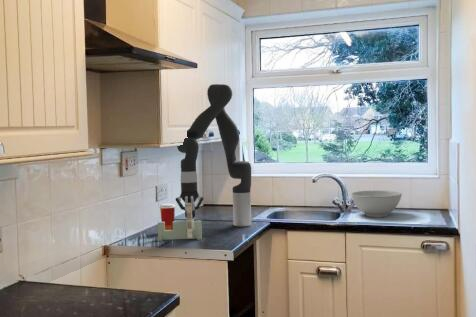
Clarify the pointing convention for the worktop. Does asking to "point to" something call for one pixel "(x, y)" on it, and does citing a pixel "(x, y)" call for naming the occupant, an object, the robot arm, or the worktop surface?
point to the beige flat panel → (189, 220)
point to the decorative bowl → (376, 202)
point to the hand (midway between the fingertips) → (190, 218)
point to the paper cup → (168, 215)
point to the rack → (179, 231)
